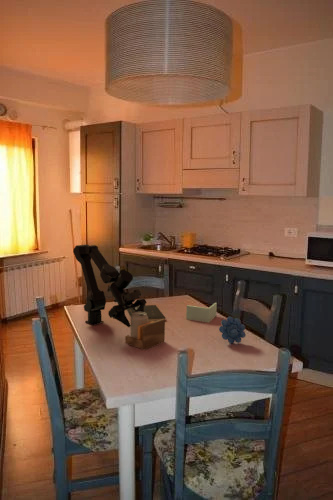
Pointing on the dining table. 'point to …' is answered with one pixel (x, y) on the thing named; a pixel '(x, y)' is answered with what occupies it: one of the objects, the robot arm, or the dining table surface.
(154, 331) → the brown wooden crate
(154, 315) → the hardcover book
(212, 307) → the right angle wall
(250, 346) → the dining table surface
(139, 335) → the pusher
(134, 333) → the can
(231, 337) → the grapes
